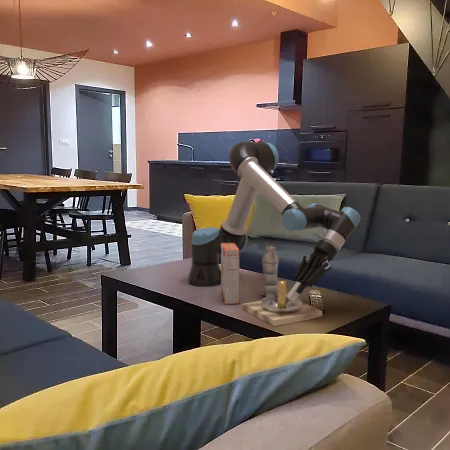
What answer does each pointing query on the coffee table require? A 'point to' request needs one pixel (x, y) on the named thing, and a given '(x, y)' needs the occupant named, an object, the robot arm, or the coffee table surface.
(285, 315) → the nut board
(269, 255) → the plastic bottle
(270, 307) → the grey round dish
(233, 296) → the cracker box
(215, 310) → the coffee table surface
